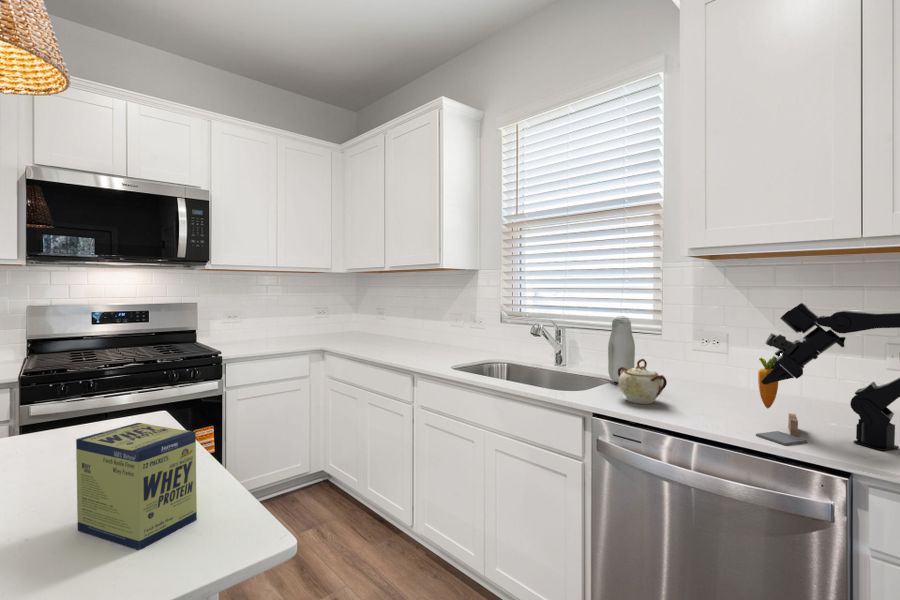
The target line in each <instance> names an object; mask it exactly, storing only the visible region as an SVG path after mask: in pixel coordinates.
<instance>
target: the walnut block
mask: <svg viewBox="0 0 900 600" xmlns="http://www.w3.org/2000/svg"><path fill="white" fill-rule="evenodd" d="M787 417H788V423H787V425H788V426H787V428H788V432H789V435H793V436H796V437H799V436H798V433H799V430H798V429H799V421H798V418H797V414H796V413H788V416H787Z"/></svg>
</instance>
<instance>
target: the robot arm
mask: <svg viewBox="0 0 900 600" xmlns="http://www.w3.org/2000/svg"><path fill="white" fill-rule="evenodd" d="M780 320H781V321H782V322H783V323H785V325H787V326H788V327H789V328H790V329H791V330H793V332H795V333H796V334H799V333H802V334H806V333H807V334H806V335H804V336H803V337H802V338H801V339H798V340H797V339H796V340H794V341H791V340H788V339H787V337H786V336H785V335H783V334H775V333H772V332H771V333H770V334H769V335H768V337H767V339H766V340H765V345H767V346H769V347H773V348H776V349H778V350H776V351H775V352H774V355H773V356H774V357H776V359H775V361H774V366H773V367H772V368H771V369H772V370H771V371H770V372H769V373H768V375H767V376H766V377H765V378H764V379H763V380H762V381H761V382H762V383H763V384H769V383H773V382H777V381H778V382H781V381H786V380H790V379H794V378H795V379H797V380H798V378H800V377H802V376H804V368H805V366H806V365H808V364H809V363H810V362H812V360H816V359H818V358H819V356H820V355H821V354H822V353H824V352H825V351H827V350H828V349H830V348H831V347H833V346H834V345H835V344H837V345H839V346H840V348H845V341H846V337H845V336H839V335H838V334H849V333H857V332H861V331H869V330H875V329H890V328H891V329H898V328H900V312H894V313H893V312H888V313H887V312H886V313H873V312H872V313H871V312H865V311H864V312H863V311H862V312H861V311H852V310H842V311H837V312H833V313H832V314H831V315H828V316H827V315H821V316H820V315H819V316H818V315H817V314H815V312H813V311H812V310H810V309H809V308H808V306H807V305H806V304H804V303H801V302H800V303H799V304H798V305H796V306H795V307H793V308H791V309H790V310H788V311H786V312H785V313H784V314H783V315H781V317H780ZM814 327H816V328H814ZM824 327H827V328H830V329H828V330H825V328H824ZM813 328H814V329H813ZM812 329H813V330H812ZM810 330H812V331H810ZM809 331H810V332H809ZM808 332H809V333H808ZM837 333H838V334H837ZM899 398H900V377H898V378H896V379H894V380H892V381H890V382H888V383H885V384H881V385H877V384H876V382H875V381H872V382H870V383H869V384H868V385H867V386H865V387H863V388H858V389H857V390H856V391H855V392H854V395H853V397H852V398H851V399H850V408H851V409H852V411H853V412H854V413H855V414H857V415H858V416H859V418H858V423H856V429H855V430H856V431H855V439H856V440H853V443H854V444H857V445H861V446H865V447H868V448H870V449H874V450H877V451H889V450H896V449H899V448H900V447H899V446H898V445H895V439H896V437H895V436H896V424H894V423H891V421H892V419H893V417H894V415H895V414H894V412H893V411H892V410H891V409H890V408H888V406H890V405H892V403H893V402H895V401H896V400H897V399H899Z"/></svg>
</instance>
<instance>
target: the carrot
mask: <svg viewBox="0 0 900 600" xmlns="http://www.w3.org/2000/svg"><path fill="white" fill-rule="evenodd" d="M774 356H775V355H773V356H772V357H771V358H769V359H768V361H767V360H766V359H765V358H763V357H759V358H758V360H759V361H760V363H761V364H762V366H763V368H760V369H759V370H758V371H757V372H758V373H757V377H758V379H757V380H758V381H757V382H758V385H757V386H758V390H759V396H760V399H761V401H762V403H763V405H764V406H765V408H766V409H770V408H771V406H772V405H773V404H774V402H775V399H776V398H777V393H778V390H779V389H778V388H779V381H777V382H773V383H769V384H763V383H762V382H761V381H762V380H763V379H764V378H765V377H766V376H767V375H768V373H769V372H770V371H771V370H772V369H771V368H772V367H773V366H774V361H775V359H776V358H777V356H775V357H774Z"/></svg>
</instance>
